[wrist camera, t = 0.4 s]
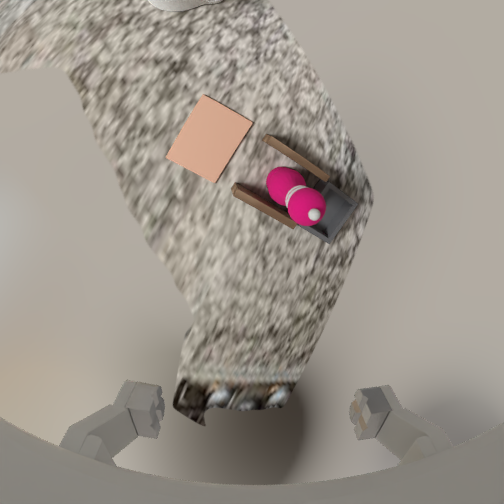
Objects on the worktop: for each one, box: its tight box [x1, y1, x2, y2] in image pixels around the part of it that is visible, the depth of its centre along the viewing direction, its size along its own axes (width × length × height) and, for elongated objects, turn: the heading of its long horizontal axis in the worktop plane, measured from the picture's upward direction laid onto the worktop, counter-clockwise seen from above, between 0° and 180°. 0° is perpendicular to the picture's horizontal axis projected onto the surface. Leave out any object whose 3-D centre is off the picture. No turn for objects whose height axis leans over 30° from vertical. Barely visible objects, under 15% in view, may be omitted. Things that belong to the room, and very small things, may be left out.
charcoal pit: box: [298, 179, 358, 244], centre depth 60 cm, size 11×9×4 cm
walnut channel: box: [231, 134, 330, 229], centre depth 55 cm, size 13×14×5 cm
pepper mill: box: [266, 167, 326, 226], centre depth 49 cm, size 7×7×20 cm
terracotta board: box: [166, 95, 252, 183], centre depth 51 cm, size 14×11×1 cm
